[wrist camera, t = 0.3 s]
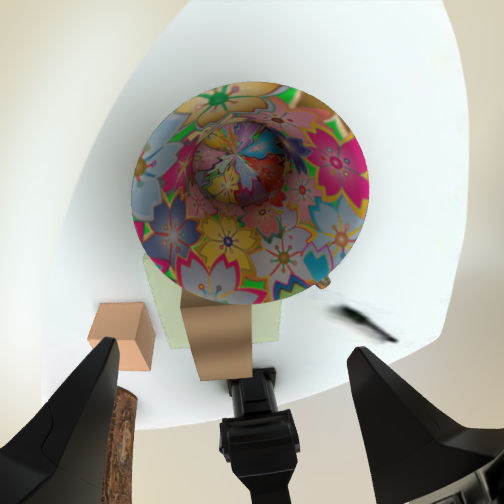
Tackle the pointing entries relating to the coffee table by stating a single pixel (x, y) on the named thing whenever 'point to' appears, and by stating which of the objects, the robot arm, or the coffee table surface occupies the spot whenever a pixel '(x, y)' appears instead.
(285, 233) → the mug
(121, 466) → the book
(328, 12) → the coffee table surface
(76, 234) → the coffee table surface
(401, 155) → the coffee table surface
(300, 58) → the coffee table surface
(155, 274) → the baseplate
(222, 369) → the walnut brick
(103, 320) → the cube
